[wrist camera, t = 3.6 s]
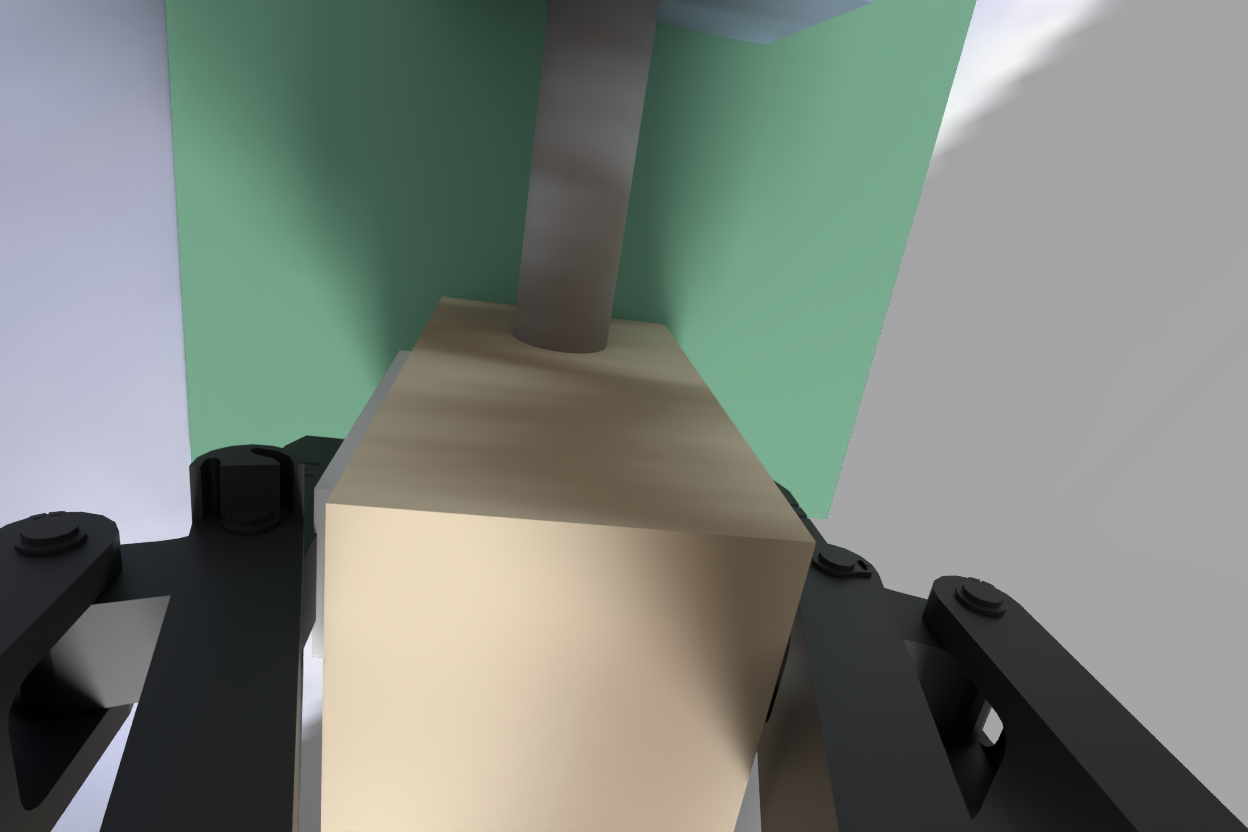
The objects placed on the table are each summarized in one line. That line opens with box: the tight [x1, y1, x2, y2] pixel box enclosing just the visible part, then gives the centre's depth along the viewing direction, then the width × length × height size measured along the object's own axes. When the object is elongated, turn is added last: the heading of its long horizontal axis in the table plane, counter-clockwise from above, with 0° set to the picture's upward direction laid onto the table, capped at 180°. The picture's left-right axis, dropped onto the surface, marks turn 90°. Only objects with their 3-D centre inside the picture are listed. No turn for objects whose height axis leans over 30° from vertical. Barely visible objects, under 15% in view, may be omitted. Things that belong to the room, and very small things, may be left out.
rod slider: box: [321, 0, 873, 832], centre depth 11 cm, size 7×12×10 cm, turn 171°
